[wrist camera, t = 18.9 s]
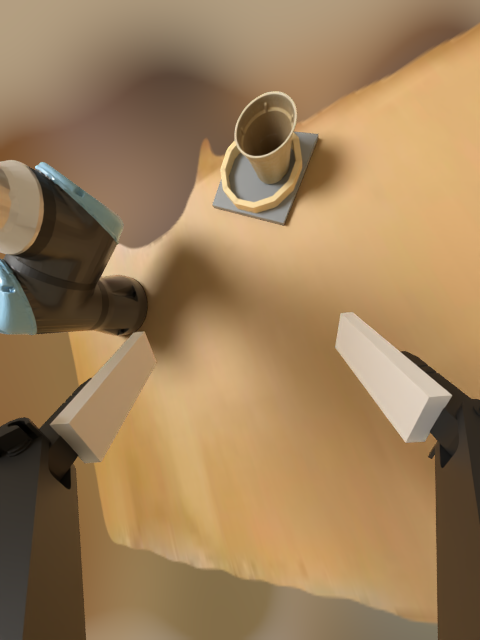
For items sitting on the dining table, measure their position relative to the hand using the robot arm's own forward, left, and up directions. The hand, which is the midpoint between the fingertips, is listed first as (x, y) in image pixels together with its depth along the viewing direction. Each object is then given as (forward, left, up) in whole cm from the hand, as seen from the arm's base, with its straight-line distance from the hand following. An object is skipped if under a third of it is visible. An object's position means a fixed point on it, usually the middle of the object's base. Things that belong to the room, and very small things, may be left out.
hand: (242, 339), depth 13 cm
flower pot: (-13, +27, -25) cm, 39 cm away
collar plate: (-15, +26, -26) cm, 39 cm away
